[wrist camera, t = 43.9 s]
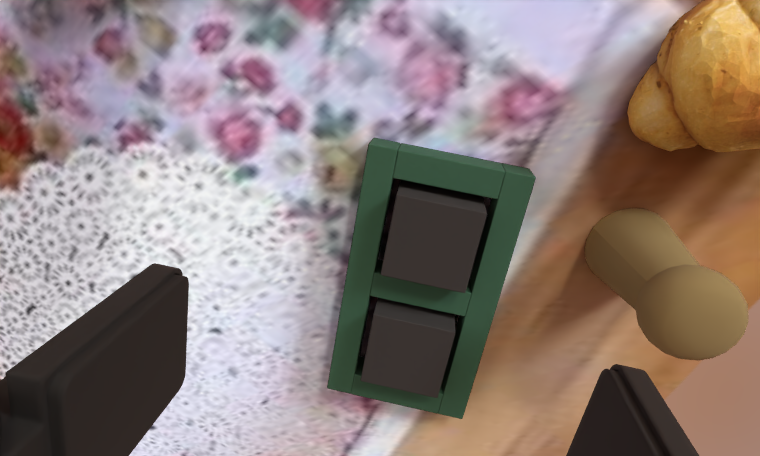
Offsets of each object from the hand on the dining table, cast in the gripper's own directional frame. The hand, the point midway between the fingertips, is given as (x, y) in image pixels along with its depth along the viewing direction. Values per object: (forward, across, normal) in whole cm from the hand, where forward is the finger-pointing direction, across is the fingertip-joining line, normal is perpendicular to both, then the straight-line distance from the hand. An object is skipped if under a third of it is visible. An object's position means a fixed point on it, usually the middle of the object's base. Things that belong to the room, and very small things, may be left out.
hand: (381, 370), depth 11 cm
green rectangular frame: (+25, -2, +10) cm, 27 cm away
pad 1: (+25, -2, +5) cm, 26 cm away
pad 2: (+25, -2, +14) cm, 29 cm away
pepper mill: (+26, -16, +4) cm, 30 cm away
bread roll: (+26, -17, -9) cm, 32 cm away
